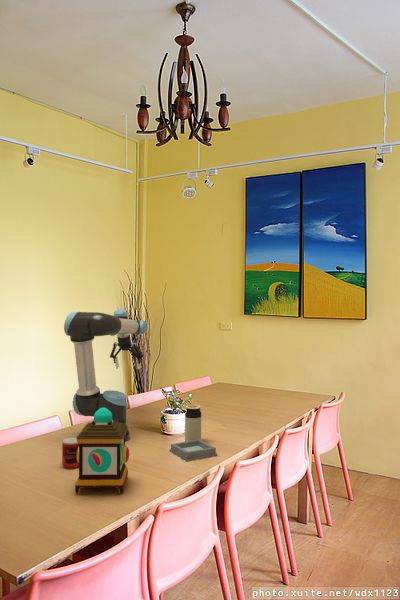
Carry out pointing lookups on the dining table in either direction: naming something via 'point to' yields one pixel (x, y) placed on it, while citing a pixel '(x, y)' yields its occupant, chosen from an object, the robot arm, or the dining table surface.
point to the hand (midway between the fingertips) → (128, 368)
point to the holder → (193, 450)
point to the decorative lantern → (102, 453)
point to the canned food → (69, 453)
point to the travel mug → (192, 423)
